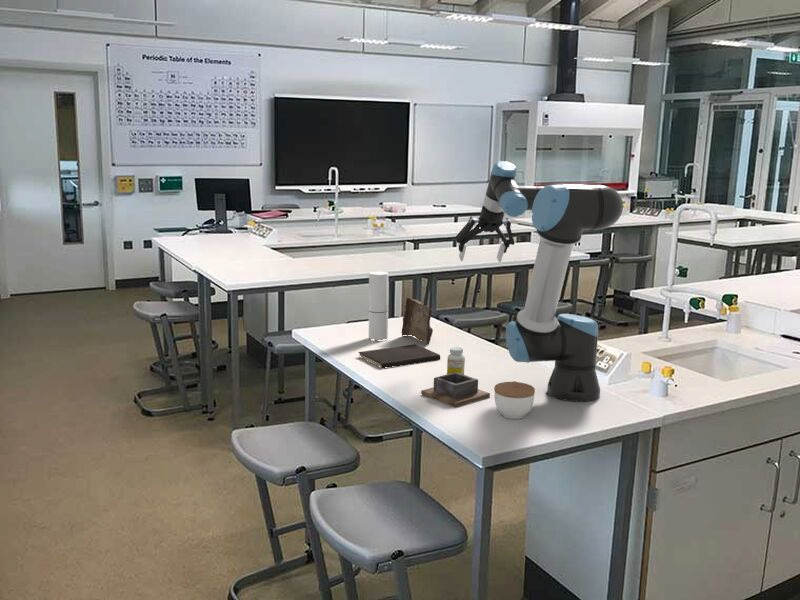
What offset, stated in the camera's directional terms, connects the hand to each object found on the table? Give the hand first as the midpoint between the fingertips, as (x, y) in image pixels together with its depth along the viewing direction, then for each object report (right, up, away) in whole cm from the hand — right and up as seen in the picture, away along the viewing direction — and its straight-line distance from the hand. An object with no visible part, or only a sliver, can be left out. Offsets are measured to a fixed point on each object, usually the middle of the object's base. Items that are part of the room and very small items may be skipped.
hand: (479, 259), depth 253 cm
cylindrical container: (-36, -29, +25) cm, 52 cm away
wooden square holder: (-11, -42, -39) cm, 58 cm away
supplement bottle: (-10, -39, -22) cm, 46 cm away
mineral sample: (-21, -29, +23) cm, 43 cm away
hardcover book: (-28, -35, -1) cm, 44 cm away
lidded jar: (+3, -45, -54) cm, 70 cm away
